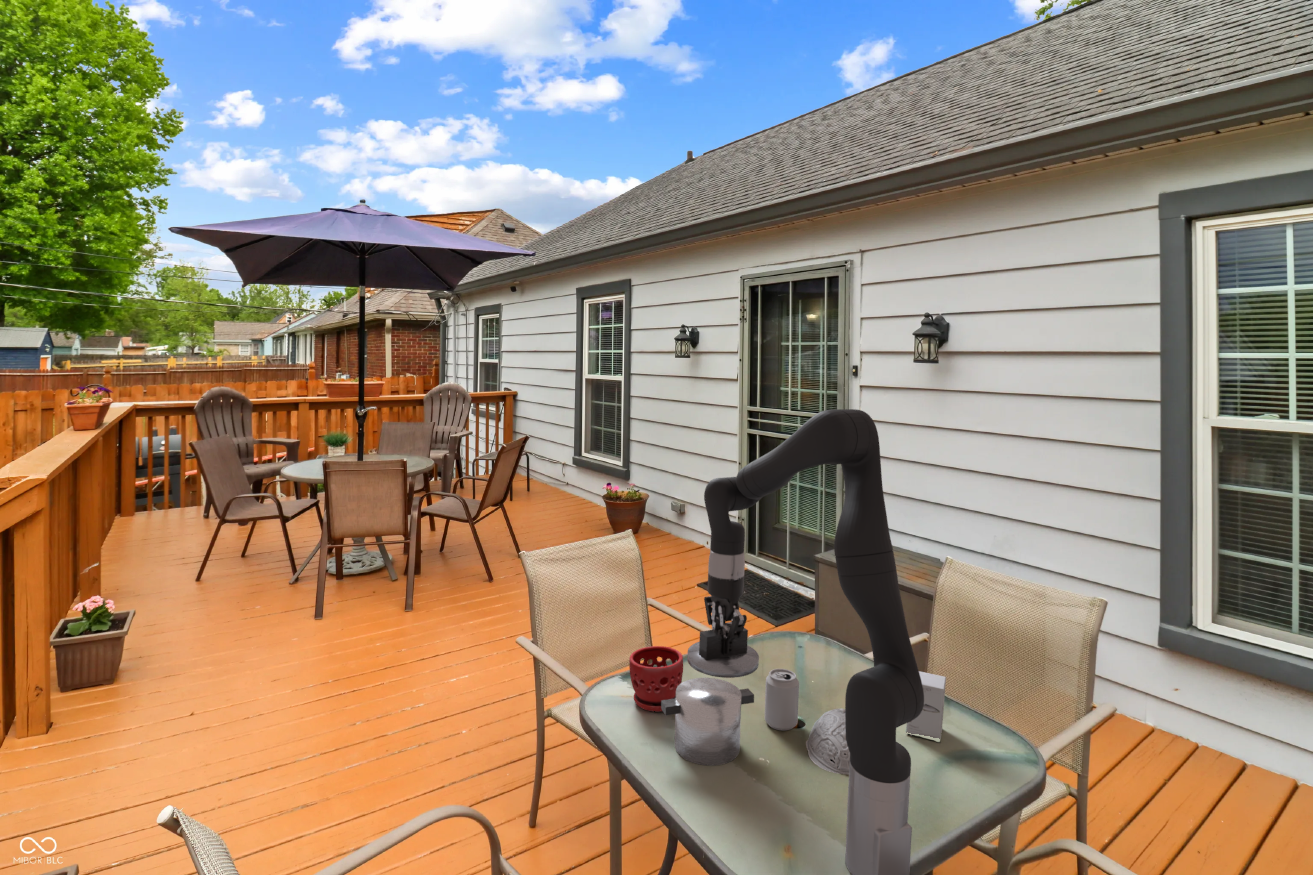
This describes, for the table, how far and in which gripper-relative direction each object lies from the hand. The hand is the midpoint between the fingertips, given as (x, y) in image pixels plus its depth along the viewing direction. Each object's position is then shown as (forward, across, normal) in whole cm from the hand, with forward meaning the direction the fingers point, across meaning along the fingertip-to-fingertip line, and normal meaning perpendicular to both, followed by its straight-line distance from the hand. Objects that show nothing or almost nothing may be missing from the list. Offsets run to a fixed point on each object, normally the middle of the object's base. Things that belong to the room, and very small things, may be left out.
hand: (722, 650), depth 135 cm
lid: (+2, 0, 0) cm, 2 cm away
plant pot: (+22, -23, -4) cm, 32 cm away
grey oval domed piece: (+22, +10, +26) cm, 35 cm away
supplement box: (+21, +13, +46) cm, 53 cm away
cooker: (+22, -2, -2) cm, 22 cm away
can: (+22, -3, +18) cm, 29 cm away
